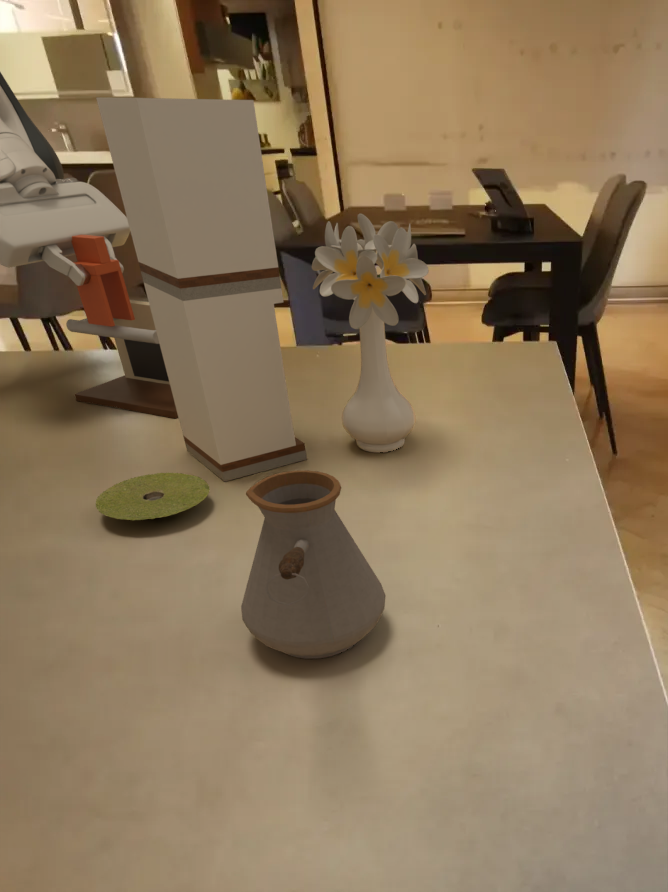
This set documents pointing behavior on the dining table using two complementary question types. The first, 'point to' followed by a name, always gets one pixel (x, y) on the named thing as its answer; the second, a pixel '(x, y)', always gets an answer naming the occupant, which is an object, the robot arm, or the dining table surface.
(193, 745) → the dining table surface
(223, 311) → the white striped pedestal
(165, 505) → the mat
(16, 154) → the robot arm
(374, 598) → the coffee pot
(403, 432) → the flower vase
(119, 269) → the clip
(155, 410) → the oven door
